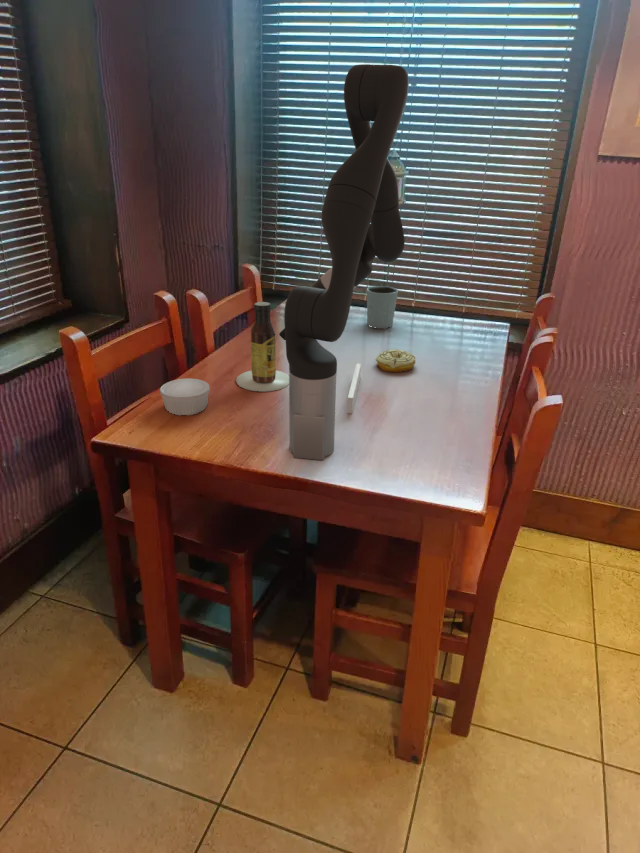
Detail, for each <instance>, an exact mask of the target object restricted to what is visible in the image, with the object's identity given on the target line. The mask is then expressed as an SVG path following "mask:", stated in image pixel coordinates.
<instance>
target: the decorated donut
mask: <svg viewBox="0 0 640 853" xmlns="http://www.w3.org/2000/svg"><path fill="white" fill-rule="evenodd" d="M375 362H376V363H377V365H378V367H379V369H381V370H382V371H385V372H388V373H390V372H391V373H401V372H402V371H404V372H407V371H410V370H411V369H413V367H414V366H415V364H416V356H415V355H414V354H413V353H411V352H408V351H406V350H403V349H397V348H395V349H393V348H392V349H387V350H384V351H381V353H379V354H378V355H377V356H376V357H375Z"/></svg>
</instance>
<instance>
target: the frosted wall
mask: <svg viewBox="0 0 640 853" xmlns="http://www.w3.org/2000/svg"><path fill="white" fill-rule="evenodd" d="M361 373H362V363H361V362H360V363H359V362H358V363H357V362H356V365H355V368H354V372H353V375H352V379H351V384H350V387H349V391H348V395H347V402H346V403H347V405H346V406H347V407H346V413H347V414H350V415H351V414H353V411H354V407H355V403H356V399H357V394H358V390H359V386H360V385H359V384H360V381H361V375H362V374H361Z"/></svg>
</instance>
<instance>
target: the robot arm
mask: <svg viewBox="0 0 640 853" xmlns="http://www.w3.org/2000/svg"><path fill="white" fill-rule="evenodd" d="M409 81H410V80H409V75H408V72H407V70H406V69H405V68H404V67H403V66H401V65H397V64H369V63H367V64H365V63H363V64H355V65H353V66H352V67H350V68H349V70H348V72H347V74H346V75H345V79H344V85H343V102H344V108H345V113H346V119H347V123H348V125H349V130H350V134H351V137H352V142H353V144H354V148H355V150H354V152H352V154H350V155H349V157H348V158H347V159H346V160H344V162H343V163H342V164H341V165H340V166H339V167H338V169H336V171H335V172H334V173H333V175H332V176H331V178H330V180H329V184H328V187H327V190H326V194H325V198H324V202H323V205H322V209H321V218H320V219H321V225H322V229H323V232H324V233H323V234H324V237H325V239H326V242H327V245H328V249H329V251H330V252H329V253H330V257H331V268H329V269H327V271H326V272H325V273H324V274H323V275H321V276H320V277H319V278H318V279H316V281H315V282H314V283H313V284H311V286H304V285H299V286H295V287H294V288H292V290H290V292H289V294H288V295H287V298H286V300H285V305H284V314H283V317H284V319H283V321H284V322H283V323H284V328H283V329H282V330H281V331H280V332H279V336H280V337H281V339H282V340H284V341H285V354H286V360H287V362H288V368H289V371H288V373H289V374H288V375H289V385H288V388H289V390H288V392H289V394H288V395H289V398H288V400H289V402H288V404H289V405H288V406H289V410H288V414H289V421H288V422H289V427H288V428H289V451H290V452H291V453H292V457H293V458H295V459H296V458H297V459H306V460H308V459H309V460H319V461H323V460H324V459H325V458H326V457H328V456H330V455H331V454H332V453H333V452H334V451H335V434H336V433H335V428H336V427H335V426H336V403H337V402H336V398H337V394H336V393H337V375H338V372H337V371H338V360H337V357H336V355H334V353H332V352H330V351H329V350H328V349H326V348H325V347H323V346H322V344H320V342H318V341H321V342H327V343H333V342H336V341H338V340H339V339H340V338H341V336H342V334H344V333H343V332H344V331H345V328H346V326H347V323H348V320H349V316H350V311H351V310H350V309H351V304H352V298H353V293H354V290H355V289H356V288H357V287H358V286H359V285H360V284H361V283H363V281H364V280H366V279H367V278H369V276H370V275H371V273H372V271H373V261H374V259H375V258H377V259H379V260H380V261H382V262H385V263H390V262H394V261H397V259H399V258H400V257H401V255H402V254H403V252H404V249H405V243H406V242H405V232H404V227H403V223H402V222H403V221H402V218H401V214H400V207H399V206H400V200H399V185H398V184H399V182H398V177H397V173H396V171H395V169H394V166H393V165H392V163H391V162H390V160H389V159H388V156H389V154H390V152H391V148H392V145H393V142H394V141H395V140H394V139H395V137H396V134H397V131H398V129H399V125H400V123H401V120H402V118H403V116H404V115H403V114H404V112H405V108H406V105H407V100H408V96H409V89H410V88H409V87H410V84H409V83H410V82H409ZM371 122H373V123H372V124H371Z"/></svg>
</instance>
